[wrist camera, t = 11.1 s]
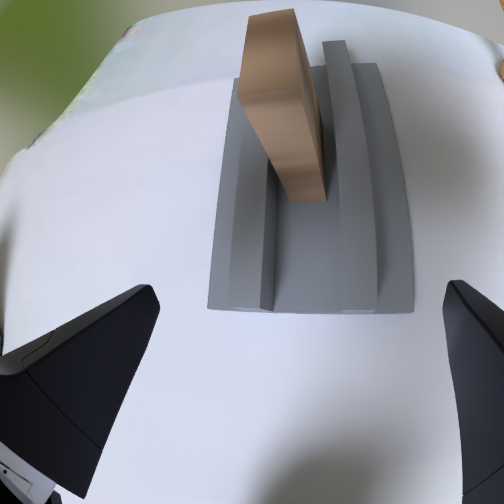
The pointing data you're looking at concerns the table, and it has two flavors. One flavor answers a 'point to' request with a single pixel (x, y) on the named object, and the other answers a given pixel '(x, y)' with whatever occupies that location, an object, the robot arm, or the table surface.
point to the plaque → (284, 103)
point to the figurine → (503, 66)
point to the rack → (317, 210)
